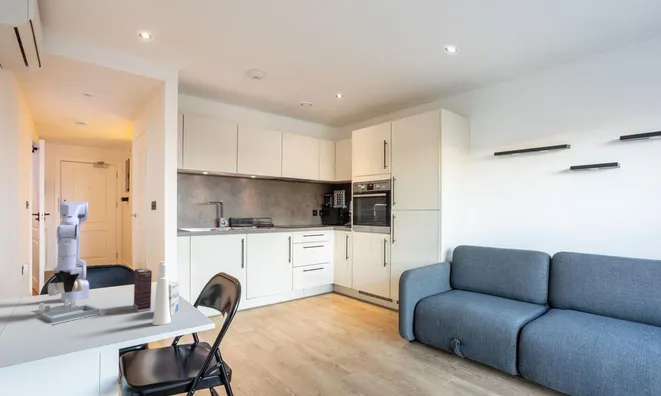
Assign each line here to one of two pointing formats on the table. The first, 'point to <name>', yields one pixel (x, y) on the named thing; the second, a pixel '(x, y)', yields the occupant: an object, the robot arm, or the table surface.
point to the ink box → (173, 296)
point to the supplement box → (142, 289)
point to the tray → (49, 318)
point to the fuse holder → (48, 309)
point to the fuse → (59, 287)
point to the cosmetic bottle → (162, 297)
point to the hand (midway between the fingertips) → (65, 291)
